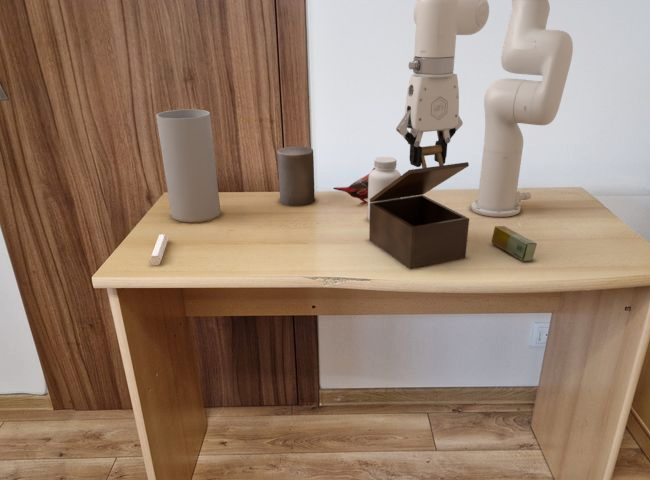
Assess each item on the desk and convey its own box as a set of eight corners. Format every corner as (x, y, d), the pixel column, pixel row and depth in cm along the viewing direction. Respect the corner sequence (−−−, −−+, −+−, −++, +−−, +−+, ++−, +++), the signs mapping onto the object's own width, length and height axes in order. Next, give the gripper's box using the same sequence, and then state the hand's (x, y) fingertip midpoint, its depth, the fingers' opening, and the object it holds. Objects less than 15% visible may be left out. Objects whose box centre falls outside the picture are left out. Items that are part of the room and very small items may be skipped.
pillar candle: (321, 199, 172) (320, 143, 164) (301, 208, 165) (299, 151, 157) (293, 194, 176) (290, 139, 169) (272, 203, 169) (268, 146, 161)
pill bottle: (397, 225, 152) (399, 163, 145) (365, 223, 154) (365, 162, 146) (401, 215, 159) (403, 155, 151) (370, 213, 160) (371, 154, 153)
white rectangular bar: (166, 241, 146) (157, 267, 133) (157, 237, 146) (148, 263, 132) (170, 232, 145) (162, 257, 132) (161, 228, 145) (152, 252, 131)
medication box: (533, 261, 132) (538, 243, 130) (523, 262, 131) (528, 244, 129) (499, 241, 142) (503, 224, 140) (490, 242, 140) (493, 225, 139)
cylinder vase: (187, 227, 153) (172, 121, 140) (163, 215, 161) (146, 114, 148) (230, 216, 160) (219, 114, 147) (205, 205, 168) (193, 107, 155)
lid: (469, 165, 126) (462, 138, 125) (409, 173, 121) (403, 145, 121) (423, 194, 144) (417, 171, 144) (370, 202, 139) (364, 178, 139)
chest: (465, 258, 134) (469, 218, 129) (410, 269, 129) (412, 228, 124) (420, 231, 149) (422, 194, 144) (369, 240, 144) (369, 202, 139)
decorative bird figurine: (389, 201, 170) (391, 164, 165) (336, 213, 161) (336, 174, 156) (383, 198, 172) (384, 161, 167) (330, 210, 163) (329, 172, 158)
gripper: (404, 71, 112) (400, 173, 121) (482, 66, 118) (473, 163, 127) (384, 67, 117) (382, 164, 127) (460, 62, 124) (452, 155, 133)
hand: (427, 163), depth 127 cm, fingers closed on lid, 5 cm apart
